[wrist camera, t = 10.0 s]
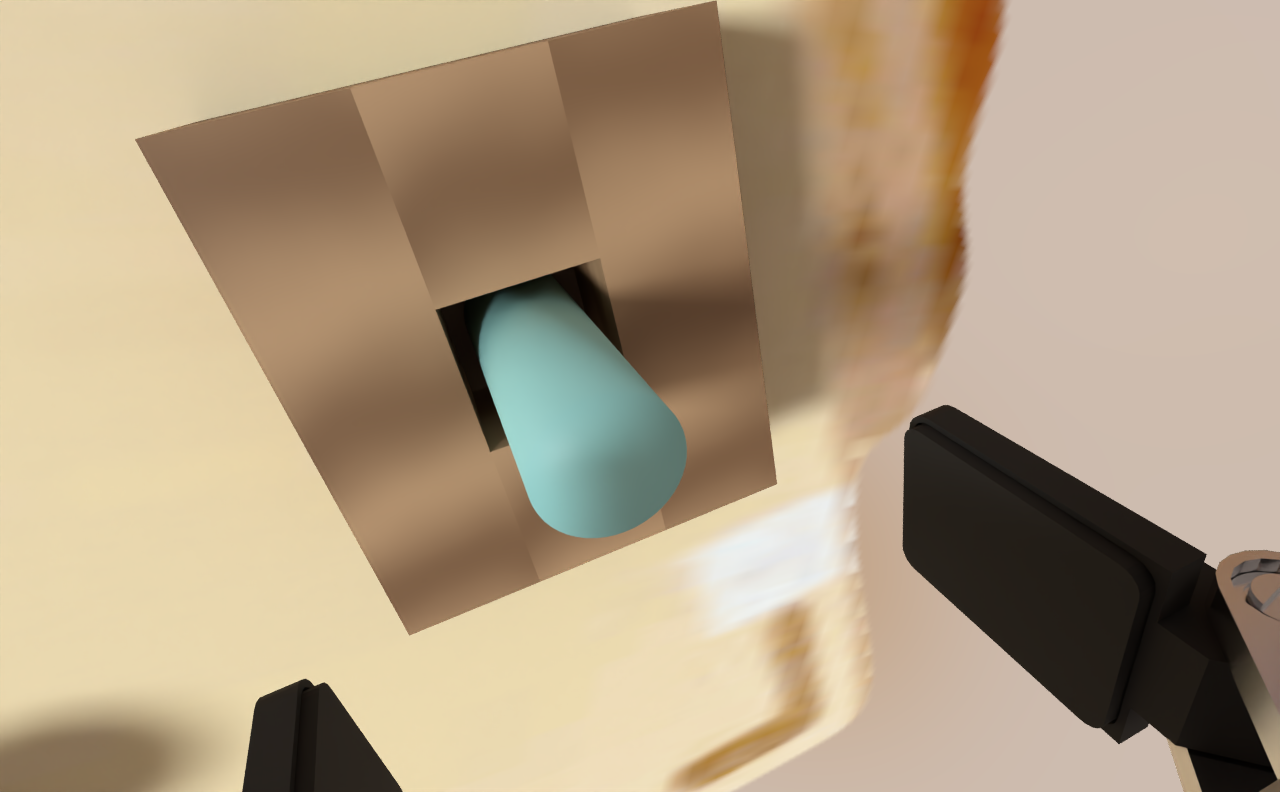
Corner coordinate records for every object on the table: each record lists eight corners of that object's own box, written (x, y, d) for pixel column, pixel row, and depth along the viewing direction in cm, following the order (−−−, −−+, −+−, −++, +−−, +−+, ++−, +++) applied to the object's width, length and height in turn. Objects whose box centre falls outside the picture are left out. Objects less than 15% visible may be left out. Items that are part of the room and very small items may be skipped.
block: (197, 121, 19) (134, 139, 14) (638, 16, 22) (716, 0, 17) (402, 530, 27) (409, 635, 22) (709, 414, 30) (777, 483, 25)
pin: (449, 279, 22) (503, 427, 13) (550, 248, 23) (671, 367, 14) (482, 372, 24) (551, 561, 15) (576, 340, 25) (698, 501, 15)
